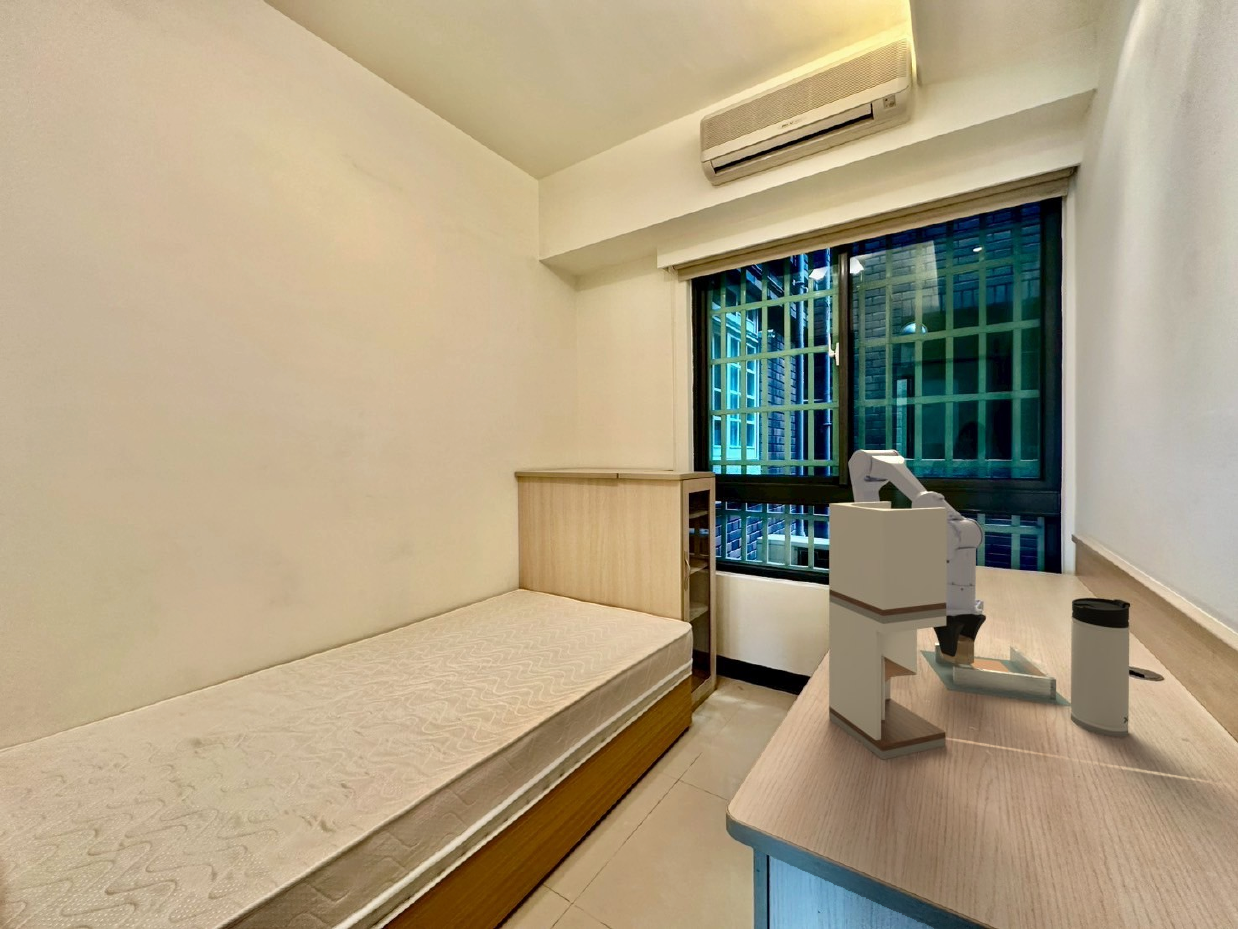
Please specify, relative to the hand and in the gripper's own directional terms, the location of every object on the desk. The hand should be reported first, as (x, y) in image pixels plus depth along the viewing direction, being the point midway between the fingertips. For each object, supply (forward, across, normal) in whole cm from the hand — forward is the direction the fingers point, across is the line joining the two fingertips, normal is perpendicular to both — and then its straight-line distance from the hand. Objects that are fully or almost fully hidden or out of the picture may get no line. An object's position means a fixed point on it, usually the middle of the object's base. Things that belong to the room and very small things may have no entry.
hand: (956, 652), depth 89 cm
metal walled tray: (+4, +5, -3) cm, 7 cm away
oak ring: (+1, 0, 0) cm, 1 cm away
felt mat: (+5, +5, -3) cm, 7 cm away
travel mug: (+5, +1, -20) cm, 20 cm away
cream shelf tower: (+5, -30, -6) cm, 31 cm away
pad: (+4, +9, -1) cm, 10 cm away
